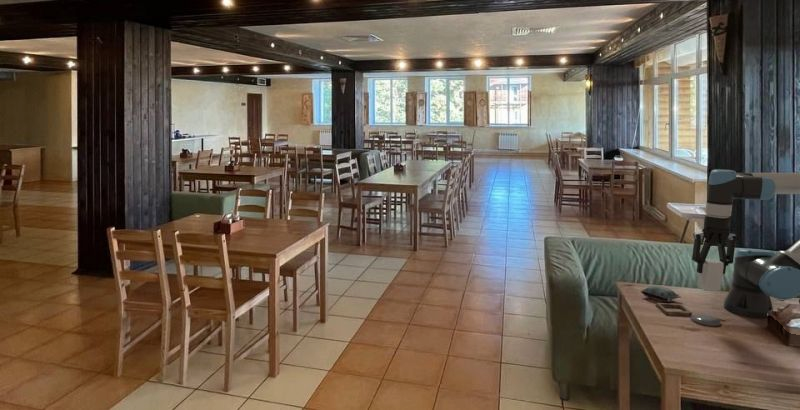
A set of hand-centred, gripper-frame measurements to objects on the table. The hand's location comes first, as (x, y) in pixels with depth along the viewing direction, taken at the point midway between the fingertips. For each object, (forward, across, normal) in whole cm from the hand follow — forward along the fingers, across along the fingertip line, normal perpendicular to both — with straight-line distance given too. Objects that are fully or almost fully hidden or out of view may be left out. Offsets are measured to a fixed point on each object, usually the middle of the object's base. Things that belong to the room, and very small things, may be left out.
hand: (709, 282), depth 183 cm
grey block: (+2, 0, 0) cm, 2 cm away
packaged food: (+14, +6, -22) cm, 27 cm away
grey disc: (+14, 0, 0) cm, 14 cm away
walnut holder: (+14, +7, -9) cm, 18 cm away
